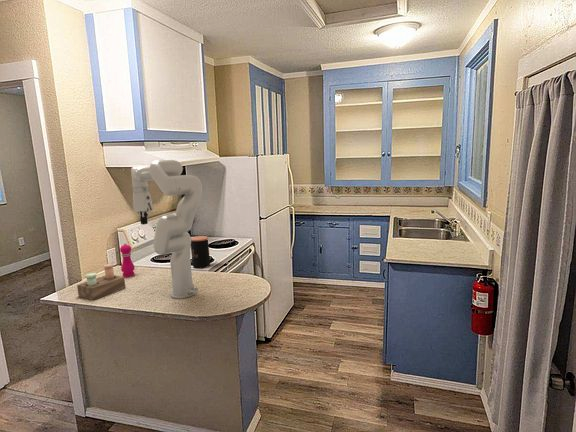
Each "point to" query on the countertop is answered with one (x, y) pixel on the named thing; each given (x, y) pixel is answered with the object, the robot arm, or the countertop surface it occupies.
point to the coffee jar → (200, 252)
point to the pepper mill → (127, 261)
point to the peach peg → (109, 271)
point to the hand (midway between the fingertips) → (144, 224)
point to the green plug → (91, 279)
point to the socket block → (101, 287)
